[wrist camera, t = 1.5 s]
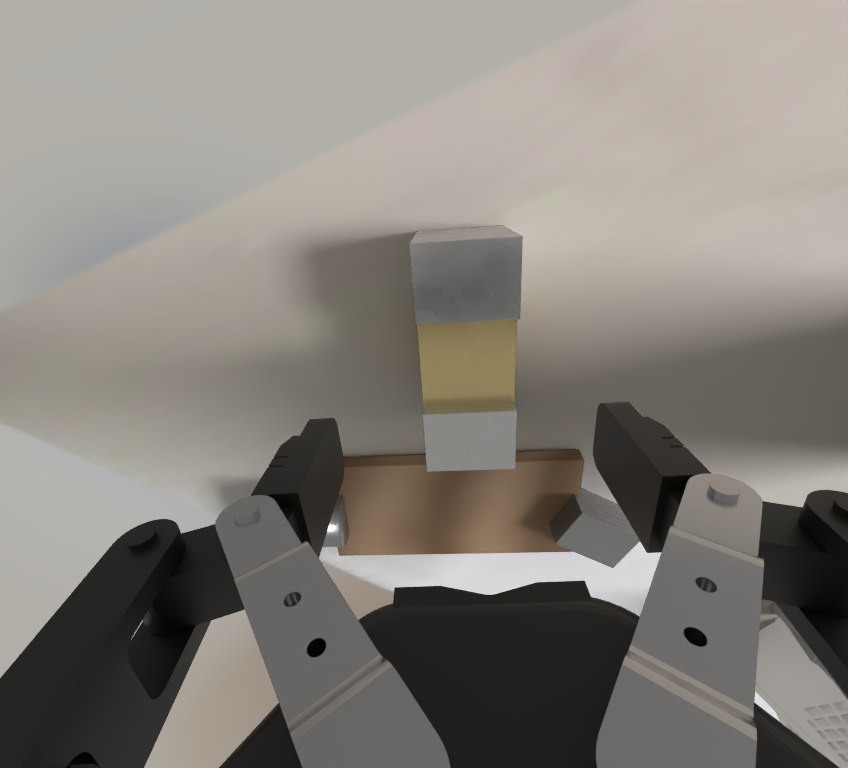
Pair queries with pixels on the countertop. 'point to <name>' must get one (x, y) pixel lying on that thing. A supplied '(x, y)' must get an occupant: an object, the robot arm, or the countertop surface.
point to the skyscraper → (800, 686)
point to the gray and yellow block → (467, 344)
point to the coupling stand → (475, 509)
